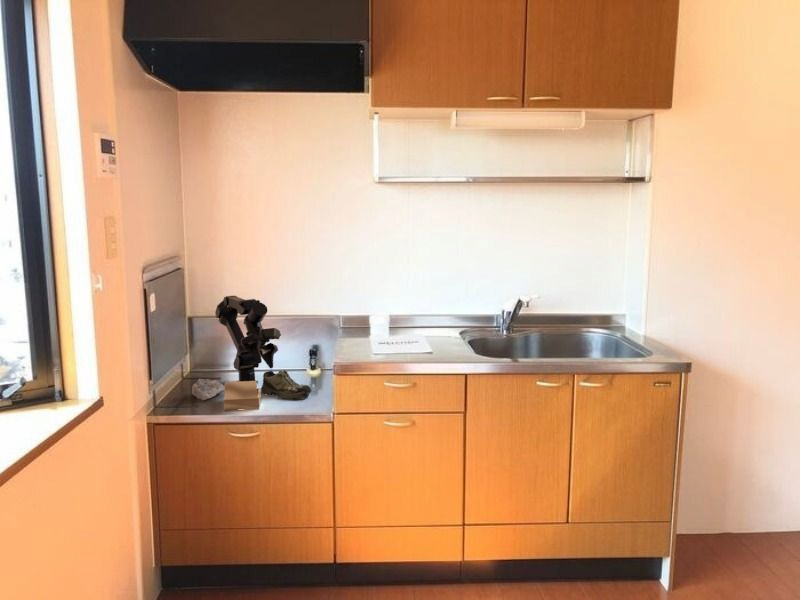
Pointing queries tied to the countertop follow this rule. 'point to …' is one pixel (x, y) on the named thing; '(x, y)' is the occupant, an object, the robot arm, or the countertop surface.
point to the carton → (243, 402)
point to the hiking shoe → (283, 386)
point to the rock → (207, 388)
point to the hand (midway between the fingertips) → (266, 365)
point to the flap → (240, 390)
